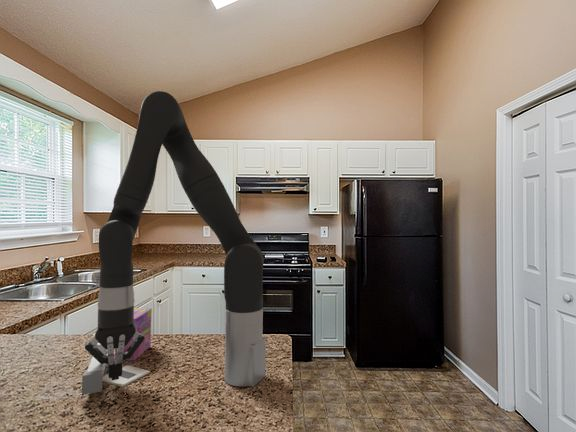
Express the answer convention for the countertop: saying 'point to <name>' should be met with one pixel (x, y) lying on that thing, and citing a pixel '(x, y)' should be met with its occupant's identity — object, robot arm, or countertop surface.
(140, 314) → the box
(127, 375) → the label tile
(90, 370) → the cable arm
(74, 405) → the countertop surface
